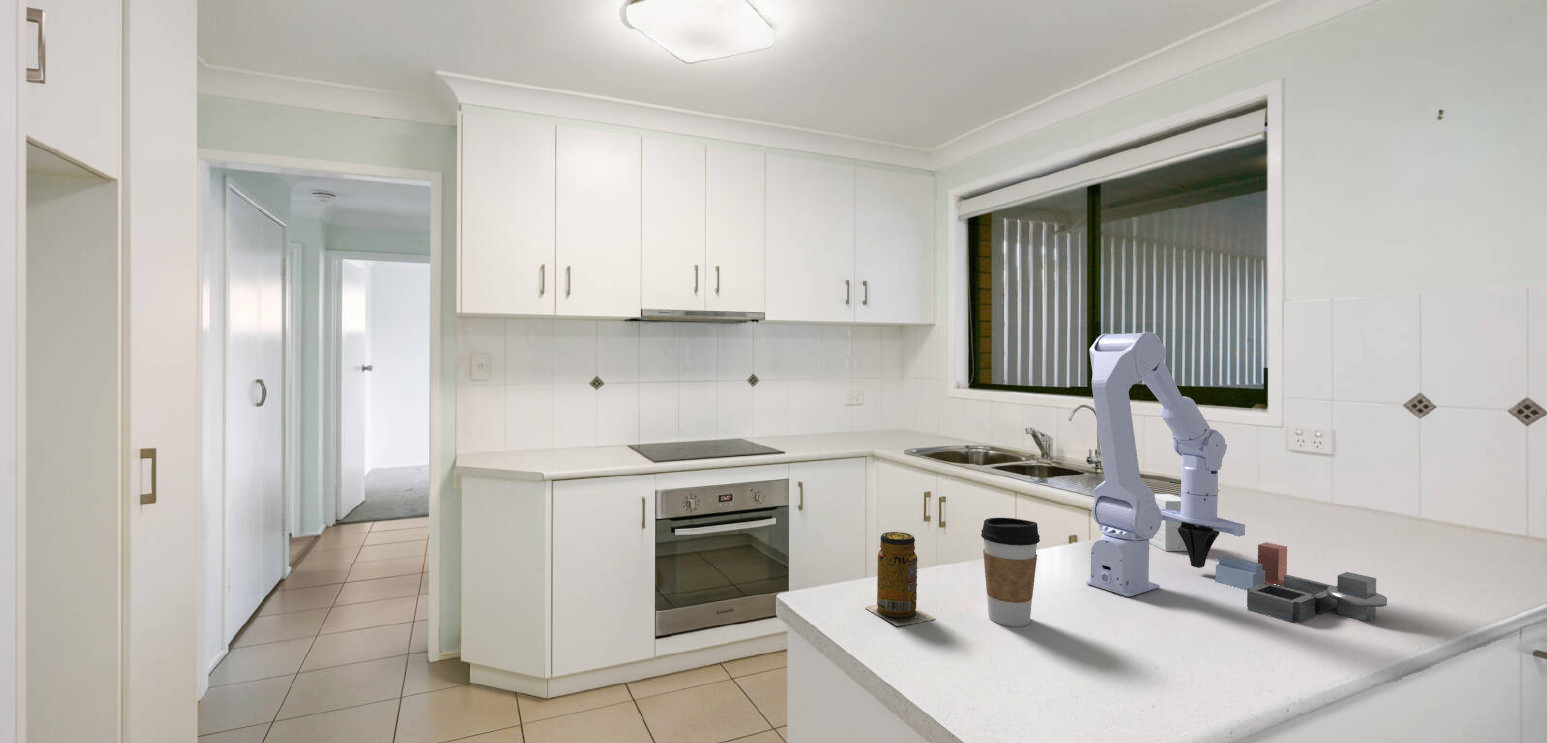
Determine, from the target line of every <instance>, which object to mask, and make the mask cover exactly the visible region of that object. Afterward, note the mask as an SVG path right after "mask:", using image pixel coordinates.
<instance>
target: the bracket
mask: <svg viewBox="0 0 1547 743" xmlns="http://www.w3.org/2000/svg"><path fill="white" fill-rule="evenodd" d="M1215 583H1217V584H1221V585H1225V584H1226V585H1225V586H1228V585H1229V587H1232V586H1233V588H1236V587H1237V588H1236V589H1239V588H1240V590H1243V589H1244V590H1243V591H1246V590H1247V588H1250V587H1253V586H1256V585H1259V584H1262V583H1265V571H1264V570H1262V564H1259V563H1258V562H1255V561H1252V560H1251V561H1250V560H1247V559H1246V560H1245V559H1242V558H1237V557H1234V556H1231V555H1230V556H1229V555H1221V556H1218V563H1217V564H1215Z"/></svg>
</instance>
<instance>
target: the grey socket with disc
mask: <svg viewBox="0 0 1547 743" xmlns="http://www.w3.org/2000/svg"><path fill="white" fill-rule="evenodd" d="M1336 583H1337V584H1336V585H1332V584H1327V583H1324V582H1319V581H1316V580H1311V579H1306V578H1303V577H1299V576H1293V575H1291V574H1287V575H1285V576H1284V584H1283V586H1282V585H1279V586H1278V585H1274V584H1270V583H1269V584H1268V583H1262V584H1259V585H1256V586H1253V587H1250V588H1247V592H1246V593H1247V595H1246V608H1247V611H1250V612H1255V613H1258V614H1261V613H1262V614H1261V615H1264V614H1266V615H1265V616H1268V615H1270V616H1269V617H1271V616H1273V617H1272V618H1274V617H1275V619H1278V618H1279V620H1281V619H1283V620H1282V621H1286V622H1289V623H1295V622H1297V621H1298V623H1302V621H1303V622H1305V621H1307V620H1309V618H1310V619H1312V618H1314V617H1316V615H1318V614H1320V615H1322V614H1324V613H1327V612H1329V611H1332V610H1333V609H1336V614H1337V613H1338V614H1337V615H1340V614H1341V615H1340V616H1343V615H1344V616H1345V617H1347V616H1348V618H1351V617H1352V619H1355V618H1356V620H1359V619H1360V621H1362V620H1363V621H1362V622H1368V621H1370V620H1372V619H1374V618H1376V611H1377V610H1376V609H1377V608H1381V607H1382V608H1384V607H1386V606H1387V605H1388V598H1387V597H1386V596H1385V595H1383V594H1381V593H1378V592H1377V578H1376V577H1372V576H1367V575H1362V574H1360V573H1359V574H1357V573H1353V572H1349V571H1346V572H1343V573H1341V574H1338V575H1337V582H1336ZM1315 613H1316V615H1315ZM1321 613H1322V614H1321ZM1313 616H1314V617H1313ZM1311 617H1312V618H1311ZM1371 618H1372V619H1371ZM1369 619H1370V620H1369ZM1304 620H1305V621H1304ZM1367 620H1368V621H1367Z"/></svg>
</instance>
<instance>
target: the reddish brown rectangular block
mask: <svg viewBox="0 0 1547 743" xmlns="http://www.w3.org/2000/svg"><path fill="white" fill-rule="evenodd" d="M1257 563H1259V564H1262V570H1264V571H1265V583H1268V584H1269V583H1270V584H1276V585H1279V586H1282V585H1284V576H1285V575H1288V574H1287V572H1288V571H1287V569H1288V566H1287V565H1288V546H1286V545H1281V544H1276V543H1272V542H1263V543H1259V544H1257ZM1281 584H1282V585H1281Z"/></svg>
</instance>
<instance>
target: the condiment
mask: <svg viewBox="0 0 1547 743" xmlns="http://www.w3.org/2000/svg"><path fill="white" fill-rule="evenodd" d="M915 542H916V538H915V536H914V535H912V534H910V533H908V532H901V531H888V532H884V533H882V534H881V535H880V544H879V548H880V549H879V551H878V554H877V576H876V577H877V584H876V585H877V586H876V588H877V590H876V592H877V593H876V594H877V595H876V605H867V606H864V608H865V609H867V610H868V611H870V612H871V613H873V614H874V615H876V616H878V617H879V618H882V619H884V620H885V621H887V622H889V623H891V624H893V625H894V626H907V625H913V624H917V623H919V624H920V623H922V622H929V621H932V620H935V619H936V617H934V616H932V615H929V613H926V612H924V611H923V610H920V609H918V608H917V598H918V595H917V594H918V592H917V590H918V589H917V588H918V582H917V581H918V556H917V554H916V552H915V549H916V546H915V545H916V544H915Z"/></svg>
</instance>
